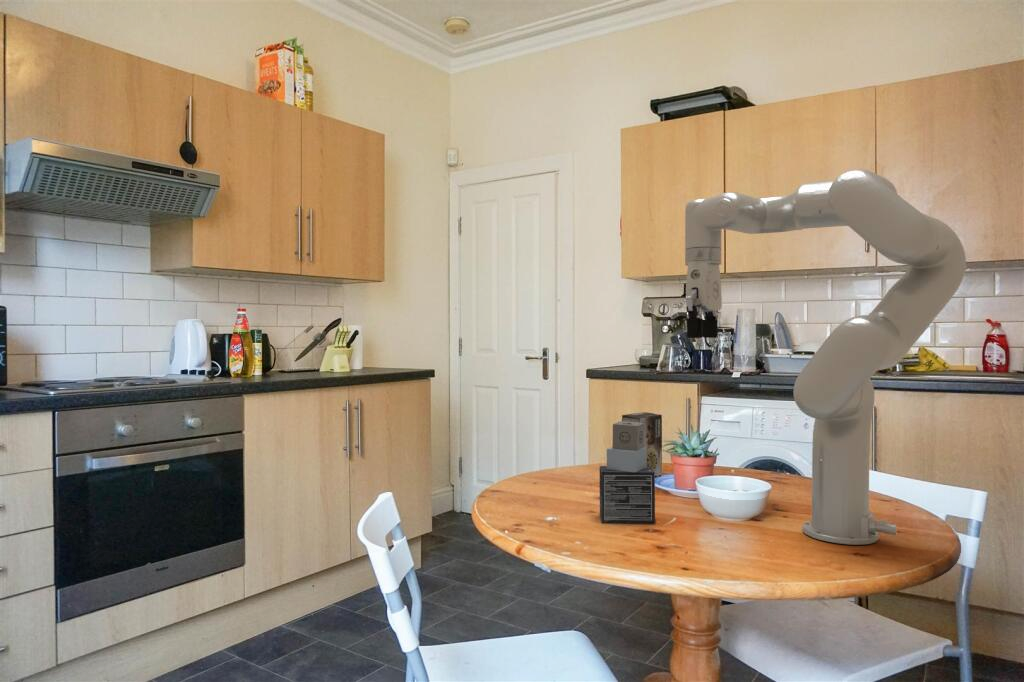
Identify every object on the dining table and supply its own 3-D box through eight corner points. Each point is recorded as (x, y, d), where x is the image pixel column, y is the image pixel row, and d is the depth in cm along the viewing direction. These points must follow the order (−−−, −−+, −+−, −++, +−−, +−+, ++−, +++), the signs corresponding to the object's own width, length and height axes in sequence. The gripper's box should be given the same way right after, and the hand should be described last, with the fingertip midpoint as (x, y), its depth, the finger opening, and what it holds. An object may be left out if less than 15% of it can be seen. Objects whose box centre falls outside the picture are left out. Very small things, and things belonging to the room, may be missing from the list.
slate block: (646, 467, 136) (646, 447, 136) (635, 472, 131) (635, 451, 131) (618, 464, 139) (618, 444, 139) (606, 468, 134) (606, 448, 134)
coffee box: (643, 472, 181) (643, 411, 181) (662, 476, 176) (663, 414, 176) (620, 476, 175) (620, 414, 175) (639, 480, 170) (640, 416, 170)
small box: (650, 516, 138) (651, 465, 138) (655, 525, 131) (656, 471, 131) (598, 515, 138) (599, 464, 138) (601, 524, 132) (601, 470, 132)
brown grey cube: (612, 449, 134) (612, 424, 134) (619, 445, 138) (620, 421, 138) (637, 451, 131) (637, 425, 131) (644, 447, 136) (644, 422, 136)
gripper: (707, 252, 136) (706, 338, 136) (732, 260, 150) (732, 337, 150) (671, 255, 140) (670, 337, 140) (699, 262, 154) (698, 337, 154)
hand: (702, 337), depth 145 cm, fingers open, 9 cm apart
